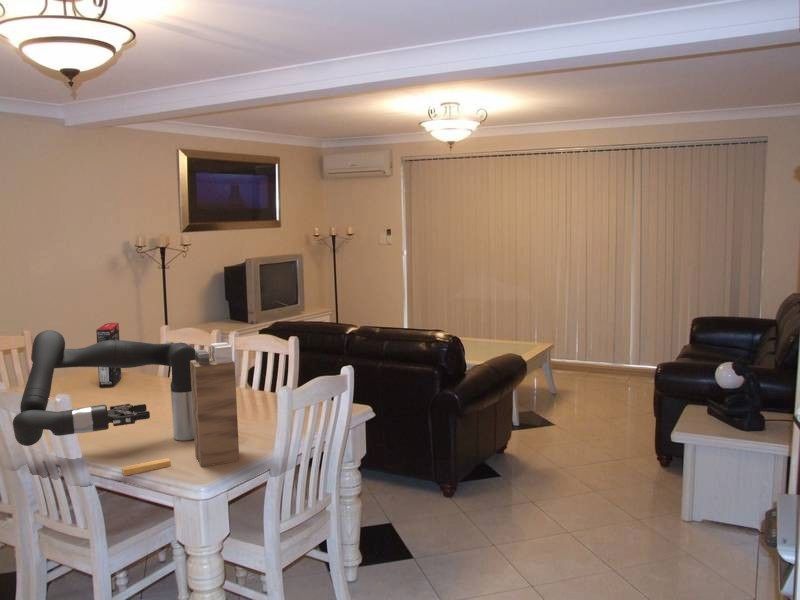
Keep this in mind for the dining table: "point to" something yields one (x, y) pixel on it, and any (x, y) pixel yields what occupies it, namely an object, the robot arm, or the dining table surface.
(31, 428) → the robot arm
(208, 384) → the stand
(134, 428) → the dining table surface
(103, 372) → the graphics card box
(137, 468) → the block
